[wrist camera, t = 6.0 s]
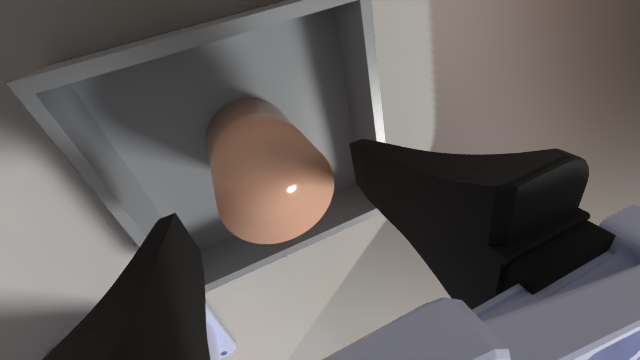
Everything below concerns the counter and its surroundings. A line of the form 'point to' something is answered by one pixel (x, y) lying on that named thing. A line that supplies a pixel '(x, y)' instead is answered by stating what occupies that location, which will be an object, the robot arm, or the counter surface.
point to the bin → (202, 104)
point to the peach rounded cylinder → (265, 173)
